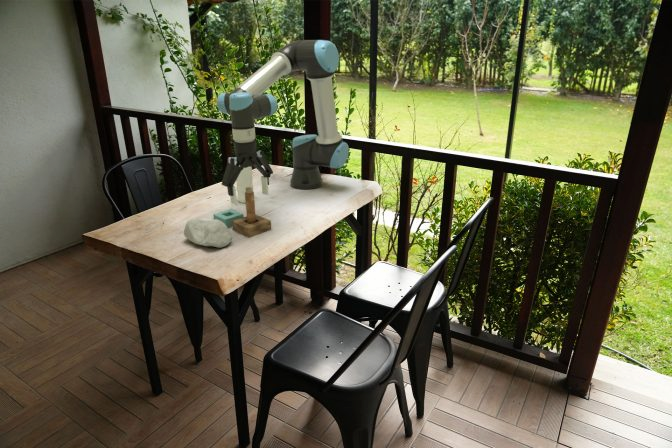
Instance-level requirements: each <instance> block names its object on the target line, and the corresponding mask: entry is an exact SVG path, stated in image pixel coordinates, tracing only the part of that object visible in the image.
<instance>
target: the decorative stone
mask: <svg viewBox="0 0 672 448" xmlns="http://www.w3.org/2000/svg"><path fill="white" fill-rule="evenodd" d="M183 235H184V237H185V239H187V240H188V241H190V242H192V243H193V244H196V245H198V246H204V247H216V248H218V249H219V248H224V247H227V246H228V245H229V244H230V243H231V241H232V239H233V236H232V233H231V231H230V229H229V228H227V226H226V225H225V224H224V223H223V222H222V221H220V220H217V219H215V220H214V219H212V220H206V219H199V218H191V219H188V220H187V221H186V223H185V227H184V228H183Z"/></svg>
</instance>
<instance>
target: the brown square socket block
mask: <svg viewBox="0 0 672 448" xmlns="http://www.w3.org/2000/svg"><path fill="white" fill-rule="evenodd" d="M271 221H272V220H270V219H267V218H266V217H263V216H260V215H258V214H256V222H255V223H252V224H248V223H247V215H246V216H243V218H240V219H237V220H234V221H232V231H235V232H237V233H238V234H240V235H242V236H245V237H247V238H252V237H255V236H257V235H260V234H263V233H267V232H268V231H269V232H270V231H271V230H272V222H271Z"/></svg>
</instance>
